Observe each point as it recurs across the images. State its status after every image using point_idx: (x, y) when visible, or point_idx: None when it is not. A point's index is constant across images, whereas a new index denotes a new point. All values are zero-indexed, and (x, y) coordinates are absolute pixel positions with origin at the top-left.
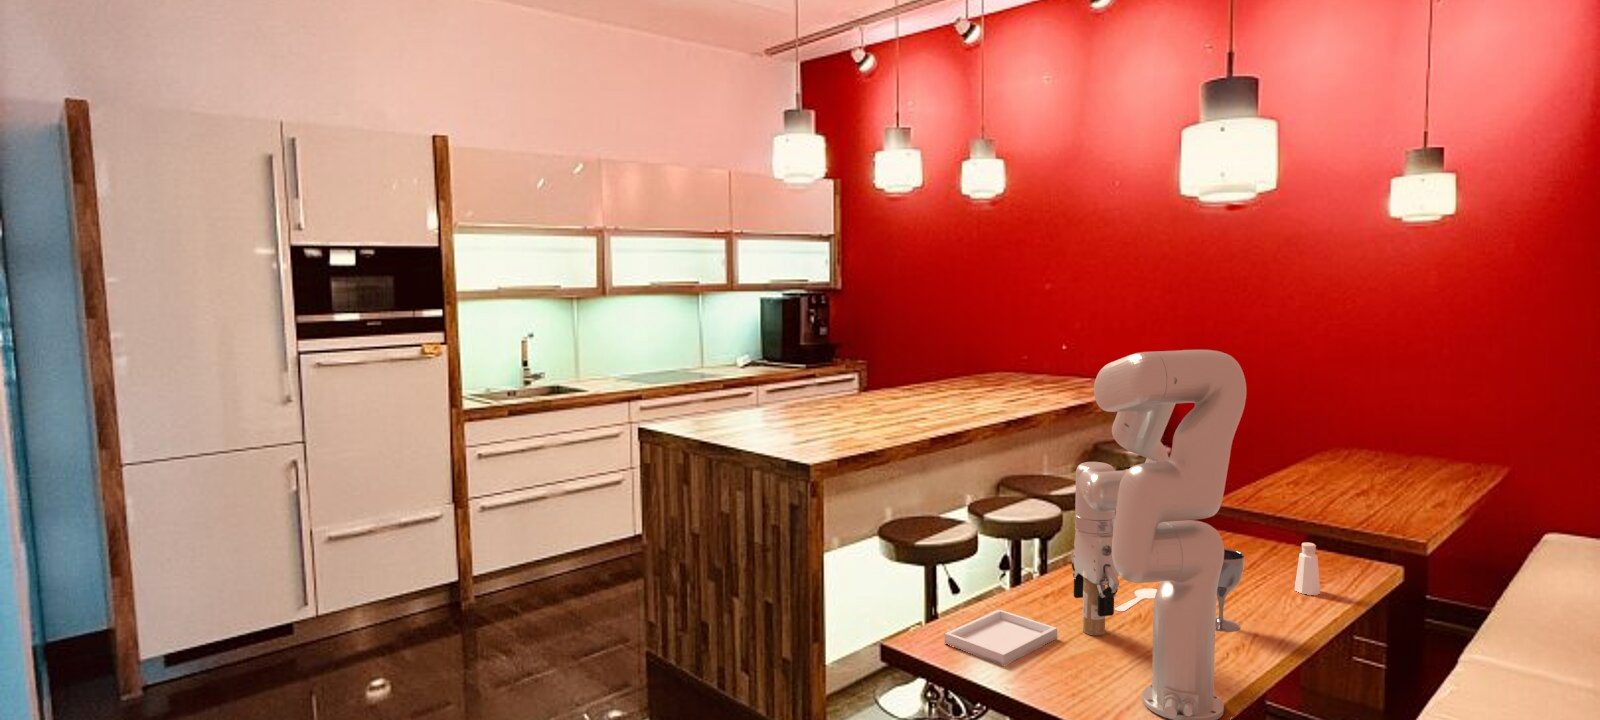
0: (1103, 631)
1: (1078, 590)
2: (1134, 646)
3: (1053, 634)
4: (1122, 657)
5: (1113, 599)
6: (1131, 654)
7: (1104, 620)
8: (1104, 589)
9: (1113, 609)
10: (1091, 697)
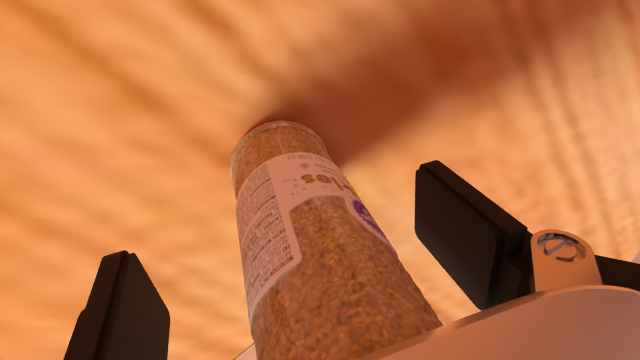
0: (319, 140)
1: (160, 346)
2: (441, 36)
3: None
4: (503, 119)
5: (503, 214)
6: (496, 78)
7: (325, 155)
8: (412, 284)
9: (455, 175)
10: (620, 238)
